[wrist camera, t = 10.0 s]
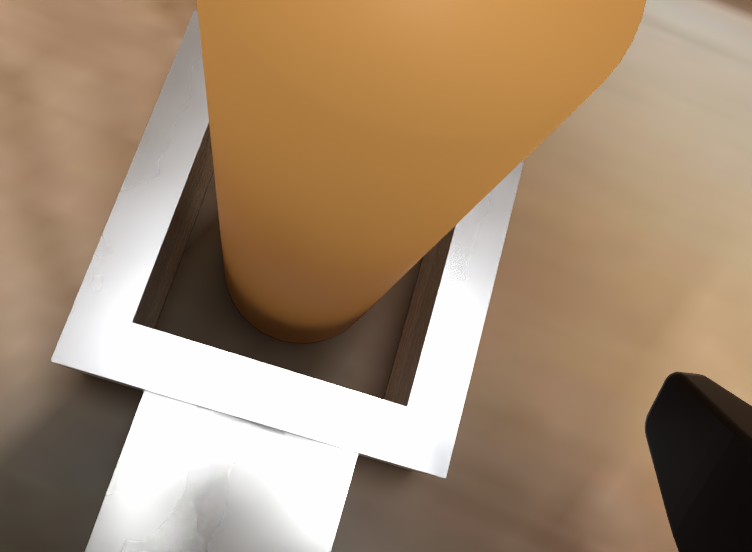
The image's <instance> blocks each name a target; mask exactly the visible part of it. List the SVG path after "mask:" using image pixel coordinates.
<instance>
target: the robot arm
mask: <svg viewBox="0 0 752 552" xmlns="http://www.w3.org/2000/svg"><path fill="white" fill-rule="evenodd" d="M645 433H646V438H647V442H648V446H649V449H650V453H651V457H652V461H653V464H654V468H655V472H656V475H657V479H658V483H659V487H660V490H661V494H662V498H663V502H664V505H665V509H666V513H667V517H668V520H669V523H670V527H671V530H672V533H673V537H674V539H675V542H676V545H677V548H678V551H679V552H752V406H751V405H749V404H748V403H746V402H744V401H743V400H741V399H740V398H738V397H737V396H735V395H734V394H732V393H731V392H729V391H727V390H726V389H724V388H723V387H721V386H720V385H718V384H717V383H715V382H714V381H712V380H711V379H709V378H707V377H706V376H704V375H700V374H693V373H684V372H674V373H672V374H670V375H669V376H668V377H667V378H666V380H665V381H664V383H663V385H662V387H661V389H660V391H659V393H658V395H657V397H656V399H655V401H654V403H653V405H652V407H651V409H650V411H649V413H648V415H647V417H646V422H645Z"/></svg>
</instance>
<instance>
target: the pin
mask: <svg viewBox="0 0 752 552" xmlns="http://www.w3.org/2000/svg"><path fill="white" fill-rule="evenodd" d="M645 3H646V0H197V9H198V19H199V28H200V38H201V48H202V58H203V67H204V77H205V87H206V97H207V107H208V116H209V126H210V136H211V146H212V155H213V165H214V175H215V185H216V195H217V204H218V214H219V224H220V234H221V243H222V253H223V263H224V273H225V279H226V285H227V288H228V291H229V294H230V296H231V298H232V300H233V303H234V304H235V306H236V307H237V309H238V310H239V312H240V313H241V314H242V315H243V317H244V318H245V319H246V320H247V321H248V322H249V323H250V324H252V325H253V326H254V327H255V328H257V329H258V330H260V331H261V332H263V333H265V334H267V335H269V336H271V337H273V338H276V339H279V340H282V341H287V342H292V343H313V342H318V341H323V340H326V339H329V338H332V337H334V336H336V335H338V334H340V333H342V332H343V331H345V330H346V329H348V328H349V327H350V326H351V325H353V324H354V323H355V322H356V321H357V320H358V319H359V318H360V317H361V316H362V315H363V314H364V313H365V312H366V311H367V310H368V309H370V308H371V307H372V306H373V305H374V304H375V303H376V302H377V301H378V300H379V299H380V298H381V297H382V296H383V295H384V294H385V293H386V292H387V291H388V290H389V289H390V288H391V287H392V286H393V285H394V284H395V283H396V282H397V281H398V280H400V279H401V278H402V277H403V276H404V275H405V274H406V273H407V272H408V271H409V270H410V269H411V268H412V267H413V266H414V265H415V264H416V263H417V262H418V261H419V260H420V259H421V258H422V257H423V256H424V255H425V254H426V253H427V252H428V251H430V250H431V249H432V248H433V247H434V246H435V245H436V244H437V243H438V242H439V241H440V240H441V239H442V238H443V237H444V236H445V235H446V234H447V233H448V232H449V231H450V230H451V229H452V228H453V227H454V226H455V225H456V224H457V223H458V222H459V221H461V220H462V219H463V218H464V217H465V216H466V215H467V214H468V213H469V212H470V211H471V210H472V209H473V208H474V207H475V206H476V205H477V204H478V203H479V202H480V201H481V200H482V199H483V198H484V197H485V196H486V195H487V194H488V193H489V192H491V191H492V190H493V189H494V188H495V187H496V186H497V185H498V184H499V183H500V182H501V181H502V180H503V179H504V178H505V177H506V176H507V175H508V174H509V173H510V172H511V171H512V170H513V169H514V168H515V167H516V166H517V165H518V164H519V163H521V162H522V161H523V160H524V159H525V158H526V157H527V156H528V155H529V154H530V153H531V152H532V151H533V150H534V149H535V148H536V147H537V146H538V145H539V144H540V143H541V142H542V141H543V140H544V139H545V138H546V137H547V136H548V135H549V134H551V133H552V132H553V131H554V130H555V129H556V128H557V127H558V126H559V125H560V124H561V123H562V122H563V121H564V120H565V119H566V118H567V117H568V116H569V115H570V114H571V113H572V112H573V111H574V110H575V109H576V108H577V107H578V106H579V105H581V104H582V103H583V102H584V101H585V100H586V99H587V98H588V97H589V96H590V95H591V94H592V93H593V92H594V91H595V90H596V89H597V88H598V87H599V86H600V85H601V84H602V83H603V82H604V81H605V80H606V78H607V77H608V76H609V75H610V74H611V73H612V71H613V70H614V69H615V68H616V67H617V65H618V64H619V63H620V61H621V60H622V58H623V56H624V55H625V53H626V51H627V50H628V48H629V46H630V45H631V43H632V41H633V39H634V36H635V34H636V31H637V29H638V26H639V24H640V22H641V19H642V16H643V11H644V7H645Z"/></svg>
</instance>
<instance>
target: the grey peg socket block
mask: <svg viewBox="0 0 752 552" xmlns="http://www.w3.org/2000/svg"><path fill="white" fill-rule="evenodd" d="M523 163H524V160H523V161H522V162H521V163H519V164H518V165H517V166H516V167H515V168H514V169H513V170H512V171H511V172H510V173H509V174H508V175H507V176H506V177H505V178H504V179H503V180H502V181H501V182H500V183H499V184H498V185H497V186H496V187H495V188H494V189H493V190H492V191H491V192H489V193H488V194H487V195H486V196H485V197H484V198H483V199H482V200H481V201H480V202H479V203H478V204H477V205H476V206H475V207H474V208H473V209H472V210H471V211H470V212H469V213H468V214H467V215H466V216H465V217H464V218H463V219H462V220H461V221H459V222H458V223H457V224H456V225H455V226H454V227H453V228H452V229H451V230H450V231H449V232H448V233H447V234H446V235H445V236H444V237H443V238H442V239H441V240H440V241H439V242H438V243H437V244H436V245H435V246H434V247H433V248H432V249H431V250H430V251H428V252H427V253H426V254H425V255H424V256H423V260H422V263H421V267H420V270H419V274H418V278H417V281H416V285H415V288H414V292H413V296H412V299H411V303H410V306H409V310H408V314H407V317H406V321H405V324H404V328H403V332H402V335H401V339H400V342H399V346H398V350H397V353H396V357H395V360H394V364H393V368H392V371H391V375H390V379H389V382H388V386H387V389H386V393H385V397H384V400H383V399H380V398H377V397H373V396H370V395H367V394H364V393H360V392H357V391H354V390H351V389H347V388H344V387H341V386H338V385H334V384H331V383H328V382H325V381H321V380H318V379H315V378H312V377H308V376H305V375H302V374H299V373H295V372H292V371H289V370H286V369H282V368H279V367H276V366H273V365H269V364H266V363H263V362H260V361H256V360H253V359H250V358H247V357H243V356H240V355H237V354H233V353H230V352H227V351H224V350H220V349H217V348H214V347H211V346H207V345H204V344H201V343H198V342H194V341H191V340H188V339H185V338H181V337H178V336H175V335H172V334H168V333H165V332H162V331H159V330H155V326H156V323H157V321H158V318H159V315H160V313H161V310H162V307H163V305H164V302H165V299H166V297H167V294H168V291H169V289H170V286H171V283H172V281H173V278H174V275H175V273H176V270H177V267H178V265H179V262H180V259H181V257H182V254H183V251H184V249H185V246H186V243H187V241H188V238H189V235H190V233H191V230H192V227H193V225H194V222H195V219H196V217H197V214H198V211H199V209H200V206H201V203H202V201H203V198H204V195H205V193H206V190H207V187H208V185H209V182H210V179H211V177H212V174H213V171H214V165H213V155H212V146H211V136H210V126H209V116H208V107H207V97H206V87H205V77H204V67H203V58H202V48H201V38H200V28H199V19H198V11H195V10H194V12H193V15H192V17H191V20H190V22H189V24H188V27H187V29H186V32H185V34H184V37H183V39H182V42H181V44H180V46H179V49H178V51H177V54H176V56H175V59H174V61H173V63H172V66H171V68H170V71H169V73H168V76H167V78H166V81H165V83H164V85H163V88H162V90H161V93H160V95H159V98H158V100H157V102H156V105H155V107H154V110H153V112H152V115H151V117H150V120H149V122H148V124H147V127H146V129H145V132H144V134H143V137H142V139H141V142H140V144H139V146H138V149H137V151H136V154H135V156H134V159H133V161H132V163H131V166H130V168H129V171H128V173H127V176H126V178H125V181H124V183H123V185H122V188H121V190H120V193H119V195H118V198H117V200H116V202H115V205H114V207H113V210H112V212H111V215H110V217H109V220H108V222H107V224H106V227H105V229H104V232H103V234H102V237H101V239H100V241H99V244H98V246H97V249H96V251H95V254H94V256H93V259H92V261H91V263H90V266H89V268H88V271H87V273H86V276H85V278H84V281H83V283H82V285H81V288H80V290H79V293H78V295H77V298H76V300H75V302H74V305H73V307H72V310H71V312H70V315H69V317H68V320H67V322H66V324H65V327H64V329H63V332H62V334H61V337H60V339H59V341H58V344H57V346H56V349H55V351H54V354H53V356H52V359H51V362H54V363H57V364H59V365H62V366H65V367H67V368H70V369H73V370H75V371H78V372H81V373H83V374H87V375H90V376H94V377H97V378H100V379H104V380H107V381H110V382H114V383H117V384H121V385H124V386H127V387H131V388H134V389H137V390H141V391H144V393H143V396H142V399H141V401H140V404H139V407H138V409H137V412H136V415H135V417H134V420H133V423H132V426H131V428H130V431H129V434H128V436H127V439H126V442H125V444H124V447H123V450H122V453H121V455H120V458H119V461H118V463H117V466H116V469H115V472H114V474H113V477H112V480H111V482H110V485H109V488H108V490H107V493H106V496H105V499H104V501H103V504H102V507H101V509H100V512H99V515H98V518H97V520H96V523H95V526H94V528H93V531H92V534H91V536H90V539H89V542H88V545H87V547H86V550H85V552H331V549H332V545H333V542H334V538H335V535H336V531H337V527H338V524H339V520H340V517H341V513H342V510H343V506H344V503H345V499H346V496H347V492H348V488H349V485H350V481H351V478H352V474H353V471H354V467H355V464H356V460H357V456H358V455H360V456H363V457H367V458H370V459H373V460H377V461H380V462H384V463H387V464H390V465H394V466H397V467H400V468H404V469H407V470H411V471H414V472H419V473H423V474H428V475H432V476H437V477H441V478H446V475H447V471H448V467H449V463H450V459H451V455H452V450H453V446H454V442H455V438H456V434H457V430H458V426H459V422H460V418H461V414H462V410H463V406H464V402H465V398H466V394H467V390H468V386H469V382H470V378H471V373H472V369H473V365H474V361H475V357H476V353H477V349H478V345H479V341H480V337H481V333H482V329H483V325H484V321H485V317H486V313H487V309H488V305H489V301H490V296H491V292H492V288H493V284H494V280H495V276H496V272H497V268H498V264H499V260H500V256H501V252H502V248H503V244H504V240H505V236H506V232H507V228H508V224H509V219H510V215H511V211H512V207H513V203H514V199H515V195H516V191H517V187H518V183H519V179H520V175H521V171H522V167H523Z"/></svg>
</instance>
